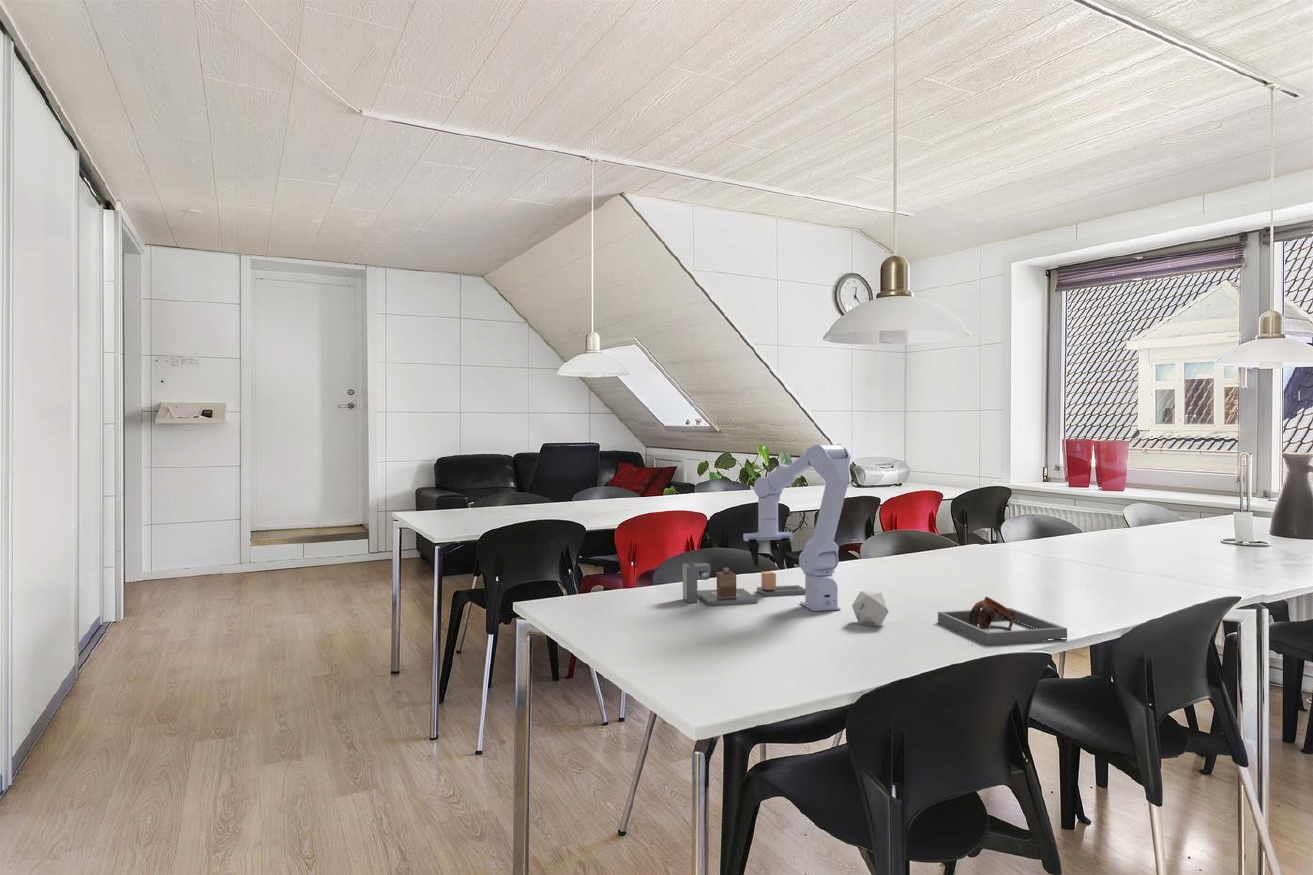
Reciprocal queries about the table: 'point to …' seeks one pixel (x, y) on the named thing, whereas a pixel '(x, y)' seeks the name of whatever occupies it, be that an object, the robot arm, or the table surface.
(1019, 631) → the tray
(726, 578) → the block
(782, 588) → the base
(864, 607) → the die
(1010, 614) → the brown arched piece
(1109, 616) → the table surface
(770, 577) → the peach small block
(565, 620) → the table surface
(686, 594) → the press
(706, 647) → the table surface
